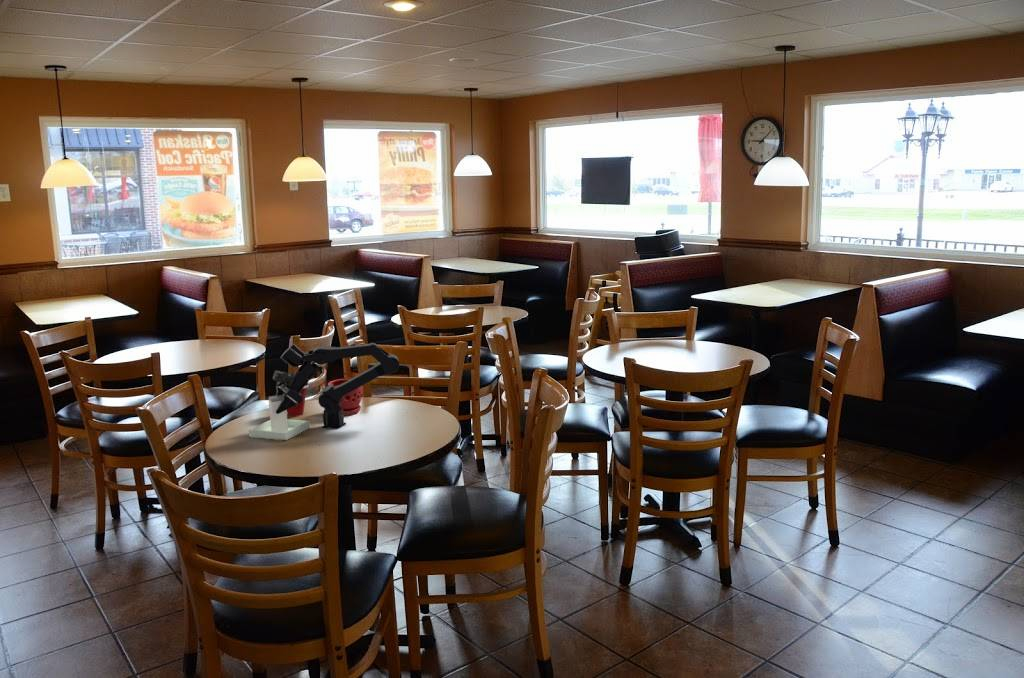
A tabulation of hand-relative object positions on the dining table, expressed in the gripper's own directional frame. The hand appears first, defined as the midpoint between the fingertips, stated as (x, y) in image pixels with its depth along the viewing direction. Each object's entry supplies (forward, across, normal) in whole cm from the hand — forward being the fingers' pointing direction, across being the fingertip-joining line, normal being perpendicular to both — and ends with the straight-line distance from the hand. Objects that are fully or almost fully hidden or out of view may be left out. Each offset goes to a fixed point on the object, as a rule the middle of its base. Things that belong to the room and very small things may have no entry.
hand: (274, 410), depth 294 cm
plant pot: (-15, -14, +27) cm, 34 cm away
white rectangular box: (+5, 0, +7) cm, 8 cm away
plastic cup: (-2, -22, +15) cm, 26 cm away
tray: (+5, 0, +7) cm, 9 cm away
